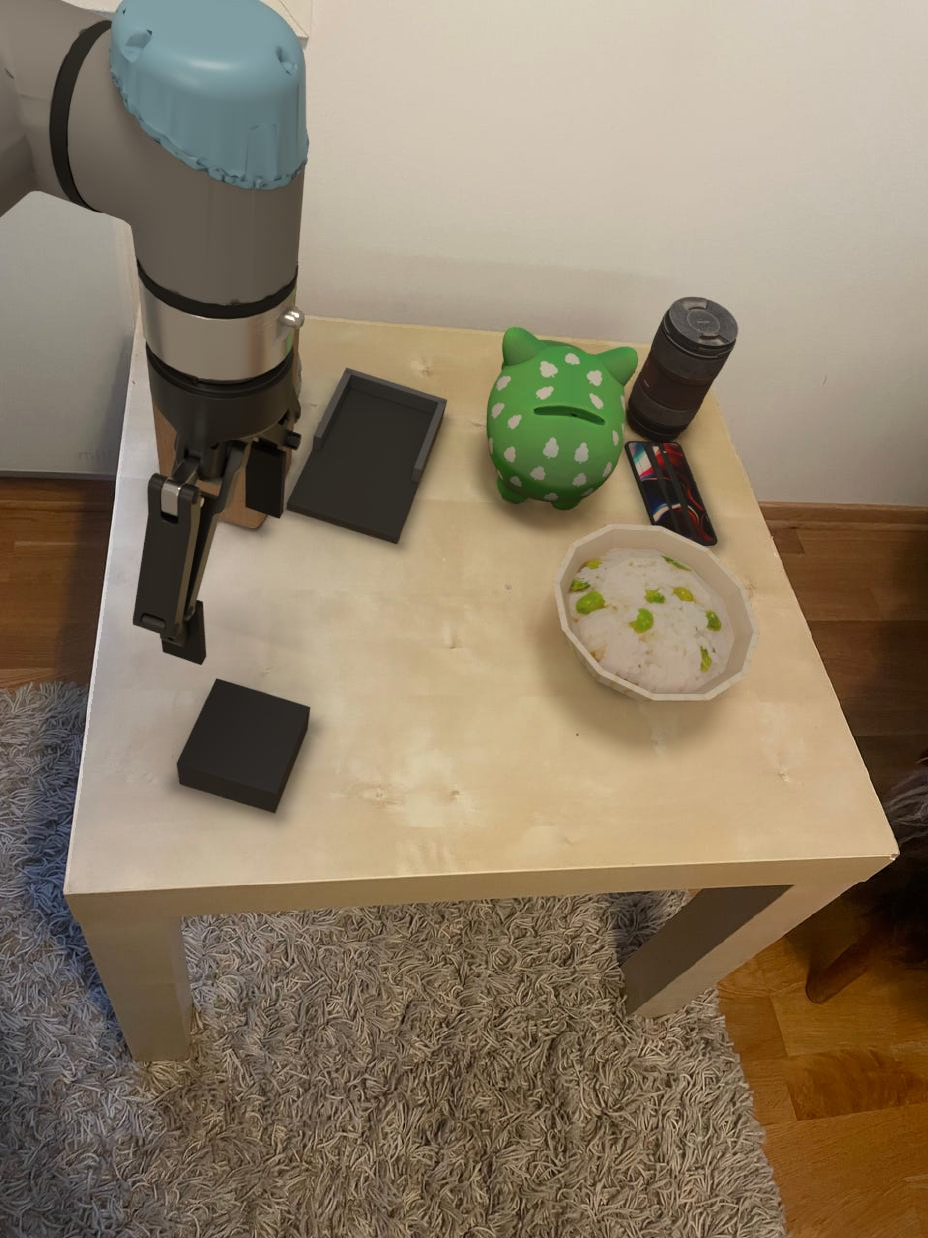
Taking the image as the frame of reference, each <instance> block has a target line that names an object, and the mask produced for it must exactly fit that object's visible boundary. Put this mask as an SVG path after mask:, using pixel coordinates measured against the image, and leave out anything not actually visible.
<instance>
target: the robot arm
mask: <svg viewBox="0 0 928 1238" xmlns="http://www.w3.org/2000/svg"><path fill="white" fill-rule="evenodd" d="M309 148H310V138H309V133H308V128H307V64H306V58H305V53H304V50H303V46H302V44H301V41H300V39H299V37H298V36H297V34H296V32H295V30H294V29H293V27H292V26H291V25H290V24H289V22H287V20H286V19H285V18H284V17H283V16H282V15H281V14H280V13H278V11H276V10H274V9H273V8H272V7H270V6H269V5H268V4H267V3H265V2H263V1H261V0H122V1H120V3H119V4H118V6H117V7H116V9H115V10H114V13H113V16H112V19H110V18H108V17H106V16H102V15H100V14H98V13H96V12H93V11H89V10H88V9H85V8H82V7H80V6H78V5H74V4H72V3H70V2H68V1H65V0H0V218H2V217H3V216H4V215H5V214H7V213H8V212H9V211H10V210H11V209H12V208H14V207H15V206H16V205H18V203H19V202H21V200H23V199H24V198H25V197H26V196H28V195H29V194H30V193H33V192H41V193H44V194H47V195H49V196H52V197H54V198H58V199H61V200H63V201H66V202H69V203H72V204H74V205H77V206H78V207H81V208H83V209H86V210H88V211H91V212H94V213H99V214H105V215H108V216H110V217H114V218H116V219H119V220H121V221H124V222H125V223H126V224H128V225H129V226H130V229H131V235H132V242H133V249H134V250H133V251H134V256H135V257H134V258H135V261H136V263H135V264H136V269H137V279H138V280H137V281H138V288H139V302H140V312H141V313H140V314H141V324H142V336H143V338H144V339H145V356H146V365H147V375H148V382H149V391H150V397H151V396H152V397H151V400H152V399H153V401H154V403H155V405H156V407H157V408H158V410H159V411H160V413H161V414H162V415H163V416H164V417H165V418H166V420H167V421H168V422H169V423H170V424H171V426H172V427H173V428H174V429H175V431H176V432H177V434H176V438H175V443H174V449H175V452H176V454H175V461H174V465H173V469H172V473H171V476H170V477H167V476H165V475H162V474H160V472H154V473H153V474H152V475H151V476H150V478H149V480H148V482H147V489H146V494H147V520H146V527H145V533H144V539H143V546H142V553H141V561H140V568H139V574H138V581H137V588H136V594H135V595H136V596H135V601H134V602H135V603H134V609H133V615H132V625H133V626H136V627H139V628H141V629H145V630H147V631H150V632H153V633H156V634H159V639H160V642H161V648H162V653H164V654H167V655H169V656H172V657H176V658H178V659H180V660H181V659H182V660H184V661H187V662H191V663H193V664H195V665H199V666H203V664H204V662H205V660H206V658H207V644H206V643H207V642H206V629H205V628H206V627H205V614H204V601H203V600H200V599H198V598H199V593H200V589H201V586H202V582H203V579H204V575H205V571H206V567H207V563H208V559H209V556H210V553H211V549H212V545H213V541H214V537H215V533H216V530H217V526H218V523H219V519H220V518H219V515H220V513H221V512H224V511H226V510H228V509H229V508H230V506H231V503H232V500H233V496H234V492H235V489H236V485H237V481H238V478H239V474H240V472H241V471H242V470H243V469H244V468H245V507H246V508H249V509H252V510H255V511H258V512H261V513H264V514H266V515H267V516H269V517H272V518H276V519H278V520H281V518H282V516H283V514H284V510H285V509H284V508H285V491H286V490H285V489H286V475H285V473H286V455H287V452H286V451H283V447H286V448H289V449H292V451H294V452H296V451H298V449H299V448H300V445H301V441H302V434H301V433H299V432H295V431H294V430H293V431H290V430H289V429H287V427H288V424H289V422H292V423H294V425H295V424H297V423H298V421H299V420H300V418H301V416H302V408H301V403H300V401H299V397H298V398H297V394H296V391H295V388H294V385H293V382H292V381H293V363H294V348H293V341H294V329H299V328H300V329H301V328H302V327H303V326H304V323H305V319H306V317H305V313H304V311H303V310H301V309H300V308H298V307H297V308H298V309H297V308H295V306H296V301H297V300H296V299H297V289H298V277H299V252H300V251H299V250H300V239H301V238H300V237H301V227H302V226H301V225H302V215H303V214H302V213H303V202H304V201H303V198H304V189H305V188H304V187H305V186H304V185H305V176H306V175H305V174H306V166H307V163H308V161H309V158H308V154H309ZM254 437H257V438H258V442H257V441H254V440H253V439H254ZM286 474H287V473H286ZM197 480H200V481H203V482H206V483H208V484H211V485H214V486H221V488H220V492H219V495H218V496H216V495H213V494H211V493H208V492H205V491H202V490H201V489H200V488H199V487H196V486H195V485H196V482H197Z"/></svg>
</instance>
